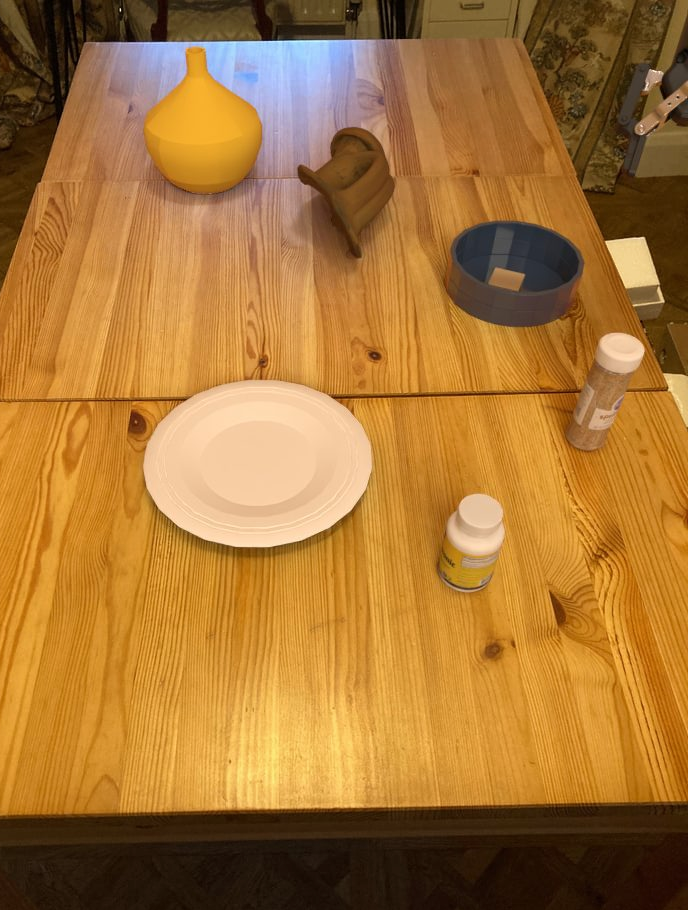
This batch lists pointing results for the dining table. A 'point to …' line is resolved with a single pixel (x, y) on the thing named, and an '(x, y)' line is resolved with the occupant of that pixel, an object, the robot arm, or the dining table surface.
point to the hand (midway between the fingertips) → (674, 187)
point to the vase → (203, 132)
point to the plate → (257, 463)
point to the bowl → (519, 250)
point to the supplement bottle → (472, 543)
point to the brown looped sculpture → (353, 182)
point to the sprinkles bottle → (604, 390)
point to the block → (507, 280)
